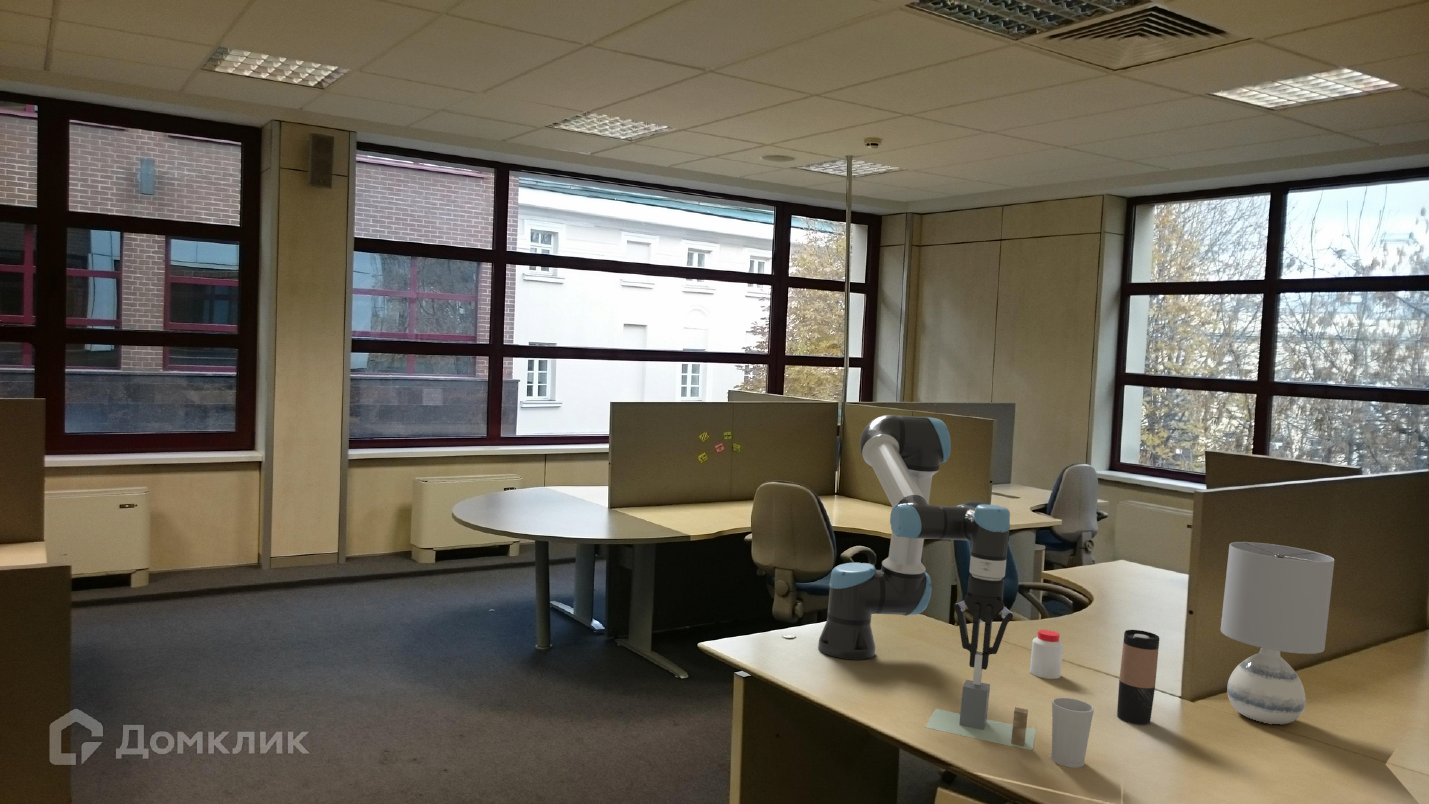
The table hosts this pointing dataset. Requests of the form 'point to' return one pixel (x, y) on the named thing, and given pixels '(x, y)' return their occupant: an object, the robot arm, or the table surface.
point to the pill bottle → (1046, 655)
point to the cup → (1070, 731)
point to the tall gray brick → (974, 705)
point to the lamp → (1274, 624)
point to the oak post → (1019, 726)
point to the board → (991, 732)
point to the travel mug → (1137, 676)
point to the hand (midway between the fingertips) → (977, 682)
